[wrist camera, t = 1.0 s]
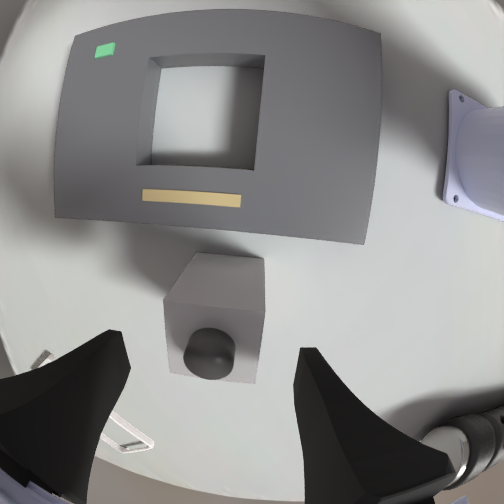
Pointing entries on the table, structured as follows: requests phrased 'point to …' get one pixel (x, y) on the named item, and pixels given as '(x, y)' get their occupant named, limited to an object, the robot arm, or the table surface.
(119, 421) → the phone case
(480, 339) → the table surface
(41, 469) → the robot arm
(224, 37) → the charging plate
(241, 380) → the charger plug
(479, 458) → the muzzle brake
